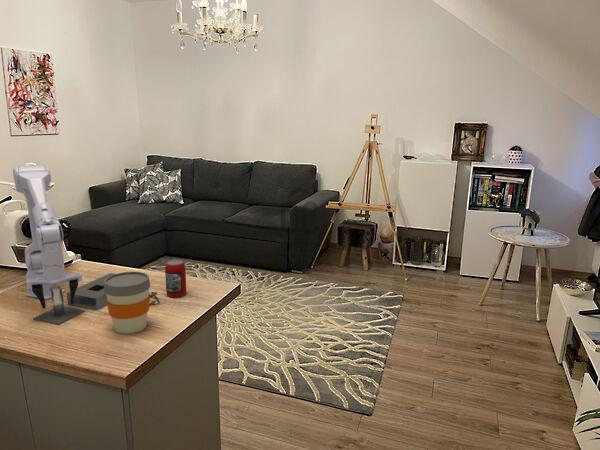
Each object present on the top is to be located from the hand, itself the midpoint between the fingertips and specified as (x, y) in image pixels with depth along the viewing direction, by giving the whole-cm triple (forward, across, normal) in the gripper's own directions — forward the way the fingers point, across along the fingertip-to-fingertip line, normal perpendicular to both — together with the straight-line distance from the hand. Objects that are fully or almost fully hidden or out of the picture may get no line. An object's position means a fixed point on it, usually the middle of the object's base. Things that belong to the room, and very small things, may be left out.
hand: (58, 305), depth 137 cm
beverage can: (+4, +36, +2) cm, 36 cm away
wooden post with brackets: (+4, +25, -3) cm, 26 cm away
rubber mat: (+3, 0, 0) cm, 3 cm away
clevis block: (+3, +13, +11) cm, 17 cm away
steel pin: (+3, 0, 0) cm, 3 cm away
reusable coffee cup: (+4, +19, -16) cm, 25 cm away
